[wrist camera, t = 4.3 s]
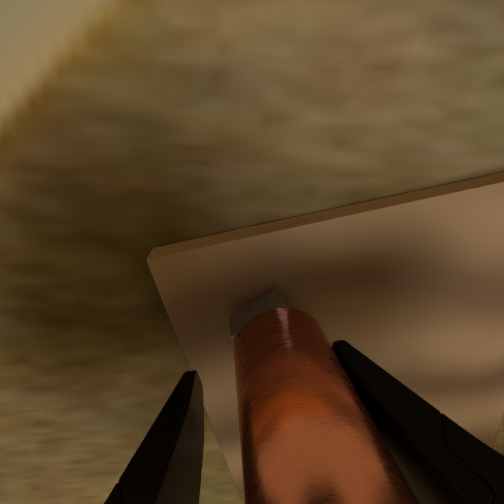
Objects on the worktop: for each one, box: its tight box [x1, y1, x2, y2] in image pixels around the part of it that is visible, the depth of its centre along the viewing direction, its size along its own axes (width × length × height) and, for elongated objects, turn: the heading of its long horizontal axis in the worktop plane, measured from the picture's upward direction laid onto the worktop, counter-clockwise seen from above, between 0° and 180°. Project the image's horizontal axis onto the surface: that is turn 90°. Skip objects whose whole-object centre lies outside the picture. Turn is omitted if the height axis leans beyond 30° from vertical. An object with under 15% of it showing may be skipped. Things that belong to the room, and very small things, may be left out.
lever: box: [229, 286, 419, 504], centre depth 10 cm, size 15×4×8 cm, turn 33°
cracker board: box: [146, 172, 504, 504], centre depth 14 cm, size 22×18×4 cm
